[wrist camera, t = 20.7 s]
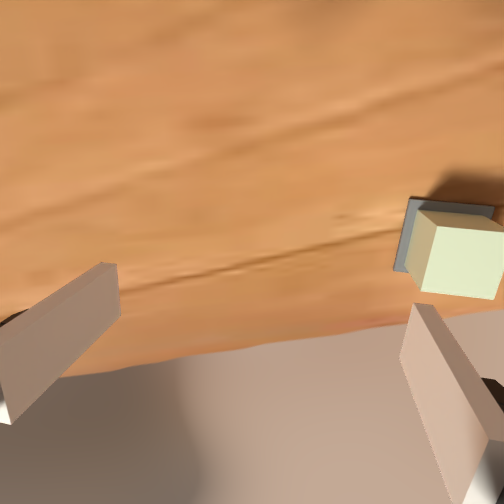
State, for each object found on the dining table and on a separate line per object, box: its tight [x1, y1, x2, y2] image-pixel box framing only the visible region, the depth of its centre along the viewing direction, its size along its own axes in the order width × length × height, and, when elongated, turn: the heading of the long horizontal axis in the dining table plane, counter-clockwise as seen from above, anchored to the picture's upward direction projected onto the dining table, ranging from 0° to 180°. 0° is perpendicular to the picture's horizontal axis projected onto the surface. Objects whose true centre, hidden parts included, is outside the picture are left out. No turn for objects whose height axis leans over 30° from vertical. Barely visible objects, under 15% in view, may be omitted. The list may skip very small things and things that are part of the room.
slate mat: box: [393, 198, 495, 273], centre depth 41 cm, size 9×9×1 cm
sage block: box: [404, 210, 504, 300], centre depth 37 cm, size 7×7×7 cm
